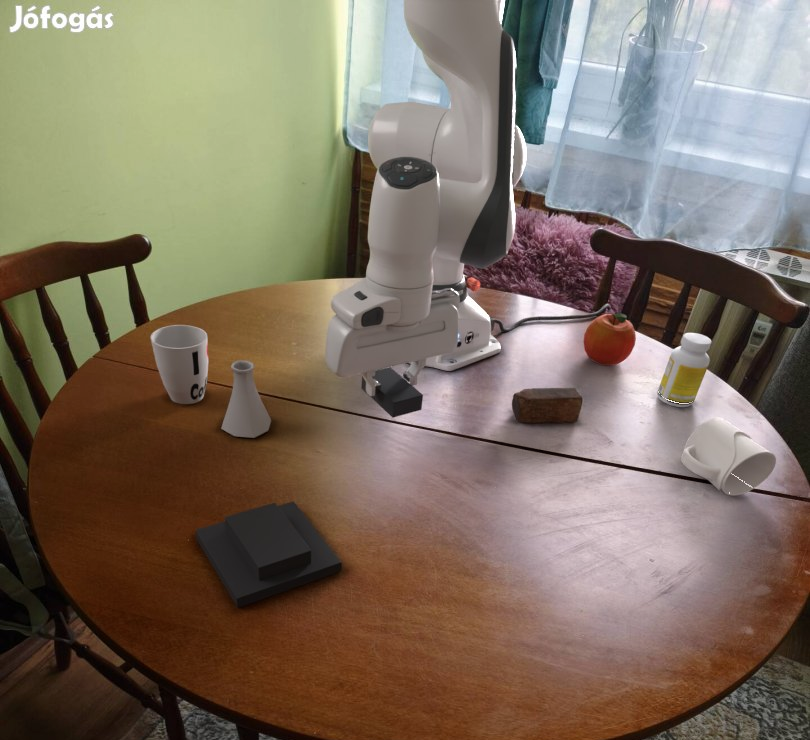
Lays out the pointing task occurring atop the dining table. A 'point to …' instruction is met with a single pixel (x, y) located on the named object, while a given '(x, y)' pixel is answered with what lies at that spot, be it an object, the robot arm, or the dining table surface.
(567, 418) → the brick
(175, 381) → the cup
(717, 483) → the mug
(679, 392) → the pill bottle
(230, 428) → the flask
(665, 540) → the dining table surface
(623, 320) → the fruit
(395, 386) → the top pad
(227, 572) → the base pad
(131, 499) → the dining table surface
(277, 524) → the medium pad
